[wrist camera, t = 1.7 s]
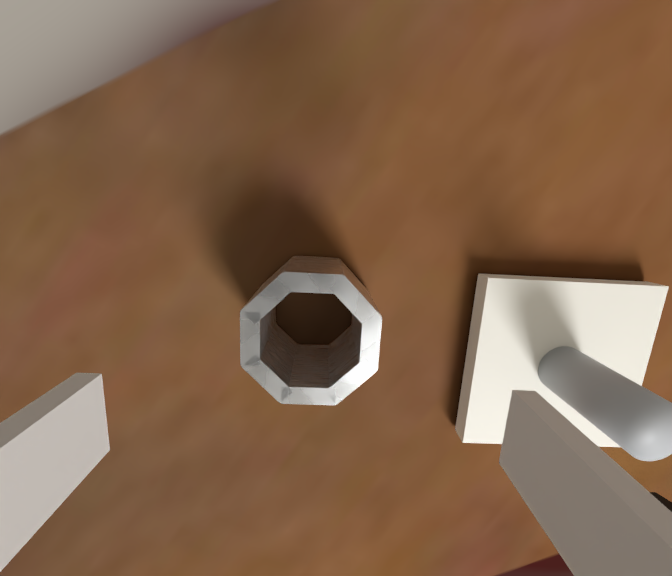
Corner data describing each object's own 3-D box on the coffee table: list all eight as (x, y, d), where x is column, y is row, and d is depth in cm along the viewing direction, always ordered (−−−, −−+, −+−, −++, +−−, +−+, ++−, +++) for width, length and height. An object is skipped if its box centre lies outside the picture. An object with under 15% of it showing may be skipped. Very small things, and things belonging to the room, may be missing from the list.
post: (455, 429, 26) (515, 531, 18) (478, 273, 24) (560, 308, 15) (608, 434, 27) (735, 535, 18) (648, 281, 24) (816, 320, 16)
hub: (260, 355, 24) (240, 402, 19) (261, 254, 23) (239, 269, 17) (362, 359, 25) (374, 406, 19) (370, 259, 23) (385, 276, 17)
